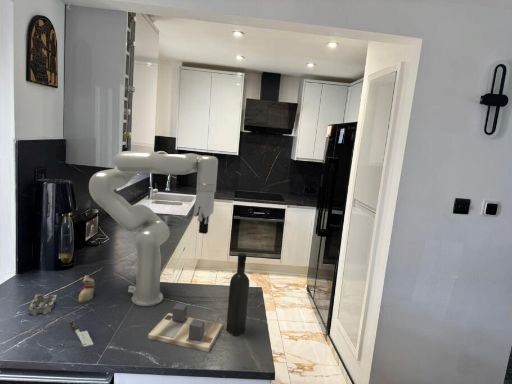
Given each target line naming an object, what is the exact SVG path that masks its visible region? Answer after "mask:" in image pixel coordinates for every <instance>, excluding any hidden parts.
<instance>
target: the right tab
mask: <svg viewBox="0 0 512 384" xmlns="http://www.w3.org/2000/svg"><path fill="white" fill-rule="evenodd" d="M197 319H198V318H195V319H194V320H193V321H192V322H191V324H190V325H189V339H194V340H198V341H200V340H201V338H202V336H203V335H204V326H205V321H206V320H204V321H201V320H202V319H200V320H197Z"/></svg>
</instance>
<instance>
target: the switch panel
mask: <svg viewBox="0 0 512 384" xmlns="http://www.w3.org/2000/svg"><path fill="white" fill-rule="evenodd" d="M172 315H173V313H171V312H168V313H167V314H166V315H165V316H164V317H163V318H162V319H161V321H159V322H158V323H157V324H156V326H154V327H153V328H152V330H151V331H150V332H149V333H148V335H147V339H148V340H154V341H156V342H157V341H158V342H162V343H168V344H171V345H175V346H180V347H183V348H189V349H193V350H197V351H201V352H207V353H209V352H210V350H211V348H212V347H213V345H214V343H215V341H216V340H217V338H218V337H219V334H220V333H221V331H222V329H223V324H222V323H219V322H213V321H208V320H204V319H199V318H195V317H190V316H187V317H186V319H185V320H184V321H183V322H177V321H172ZM194 319H197V320H201V321H205V326H204V335H203V336H202V338H201V340H200V341H198V340H194V339H189V325H190V324H191V322H192V321H193V320H194Z"/></svg>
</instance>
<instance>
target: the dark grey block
mask: <svg viewBox="0 0 512 384" xmlns="http://www.w3.org/2000/svg"><path fill="white" fill-rule="evenodd" d="M172 314H173V315H172V321H177V322H183V321H184V320H185V319H186V317H188V315H187V314H188V304H184V303H180V302H177V303H176V304H175V305H174V306H173V307H172Z"/></svg>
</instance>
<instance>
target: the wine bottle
mask: <svg viewBox="0 0 512 384" xmlns="http://www.w3.org/2000/svg"><path fill="white" fill-rule="evenodd" d="M246 261H247V254H246V253H243V252H242V253H241V252H239V253H238V254H237V267H236V273H233V275H232V276H231V277H230V278H231V279H230V281H229V288H228V289H229V292H228V302H227V315H226V324H225V326H226V328H225V330H226V331H227V332H228V333H229V334H231V335H232V336H234V337H237V336H240V335H241V334H244V333H245V332H246V324H247V313H248V304H249V303H248V302H249V292H250V278H249V277H248V275H247V274H246V272H245V271H246V270H245V269H246Z"/></svg>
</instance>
